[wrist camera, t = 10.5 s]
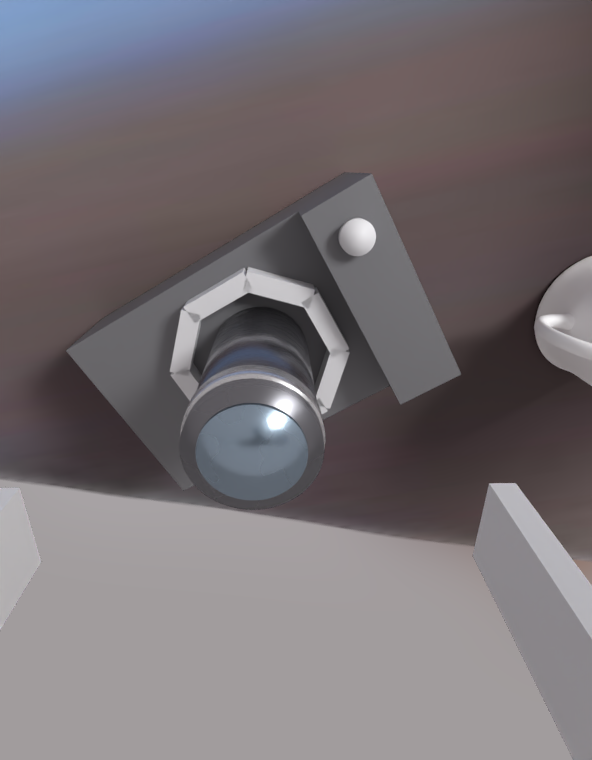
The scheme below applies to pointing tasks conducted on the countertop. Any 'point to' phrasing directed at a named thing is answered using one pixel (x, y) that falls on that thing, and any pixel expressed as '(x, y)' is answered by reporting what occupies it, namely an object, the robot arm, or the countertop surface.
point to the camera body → (287, 294)
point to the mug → (568, 321)
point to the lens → (254, 414)
